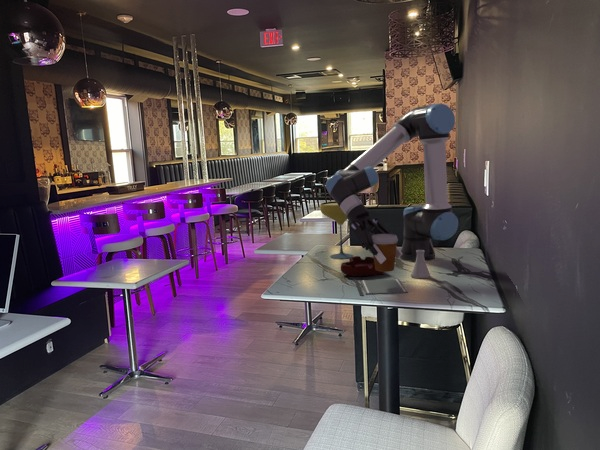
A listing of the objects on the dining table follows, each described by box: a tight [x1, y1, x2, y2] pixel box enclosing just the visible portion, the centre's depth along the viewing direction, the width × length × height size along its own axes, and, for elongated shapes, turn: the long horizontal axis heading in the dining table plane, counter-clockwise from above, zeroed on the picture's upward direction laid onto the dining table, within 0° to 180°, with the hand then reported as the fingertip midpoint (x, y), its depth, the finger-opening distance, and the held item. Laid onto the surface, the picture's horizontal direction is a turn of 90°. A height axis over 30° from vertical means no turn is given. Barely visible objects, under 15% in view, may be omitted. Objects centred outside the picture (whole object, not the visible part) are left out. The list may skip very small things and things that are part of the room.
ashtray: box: [340, 255, 385, 278], centre depth 182 cm, size 18×16×5 cm
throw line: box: [354, 279, 364, 297], centre depth 162 cm, size 1×19×1 cm, turn 179°
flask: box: [410, 250, 431, 279], centre depth 173 cm, size 7×7×10 cm
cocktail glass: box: [319, 200, 354, 260], centre depth 212 cm, size 18×18×25 cm
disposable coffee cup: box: [371, 233, 399, 273], centre depth 160 cm, size 10×10×12 cm
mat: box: [360, 278, 409, 295], centre depth 162 cm, size 14×16×1 cm
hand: (391, 259), depth 158 cm, fingers closed on disposable coffee cup, 9 cm apart
